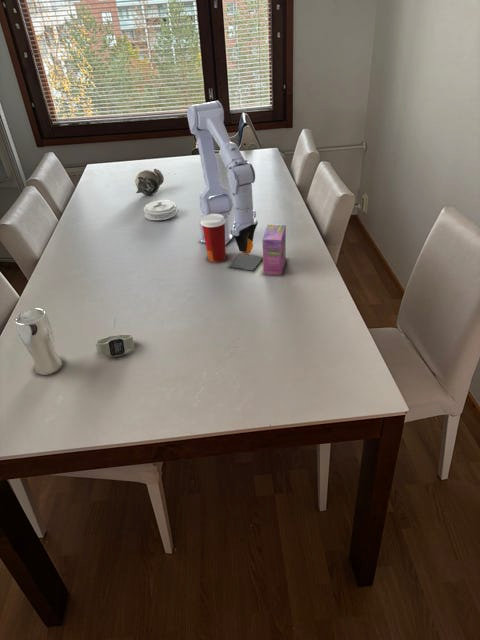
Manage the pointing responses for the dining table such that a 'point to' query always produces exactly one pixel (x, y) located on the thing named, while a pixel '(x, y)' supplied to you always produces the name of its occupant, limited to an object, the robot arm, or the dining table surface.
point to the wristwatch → (115, 344)
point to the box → (274, 249)
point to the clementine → (248, 247)
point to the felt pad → (246, 262)
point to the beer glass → (38, 340)
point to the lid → (160, 210)
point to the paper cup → (214, 236)
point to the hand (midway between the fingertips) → (245, 247)
